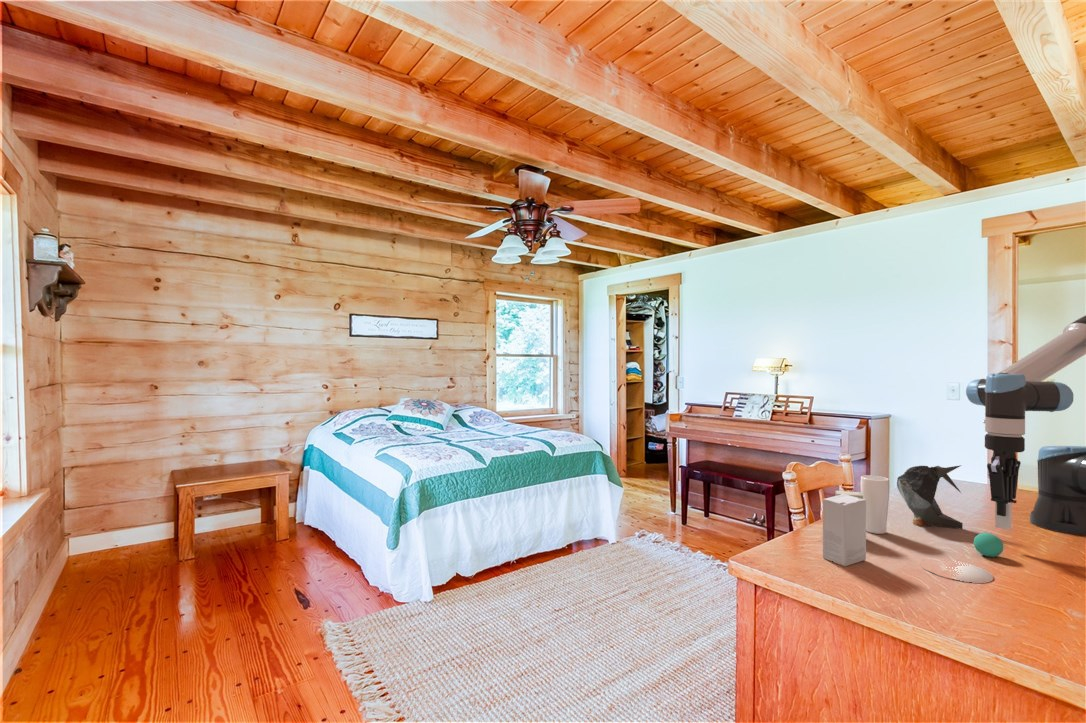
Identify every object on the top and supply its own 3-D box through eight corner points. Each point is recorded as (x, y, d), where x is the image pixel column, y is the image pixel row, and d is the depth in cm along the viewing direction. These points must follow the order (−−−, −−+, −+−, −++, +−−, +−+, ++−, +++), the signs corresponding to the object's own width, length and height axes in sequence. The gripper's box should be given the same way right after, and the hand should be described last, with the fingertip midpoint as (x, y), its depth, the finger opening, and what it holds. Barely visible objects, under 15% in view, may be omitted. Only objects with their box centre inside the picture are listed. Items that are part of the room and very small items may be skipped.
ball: (990, 551, 127) (989, 529, 127) (1009, 560, 122) (1009, 537, 122) (967, 551, 127) (967, 529, 127) (986, 560, 122) (986, 537, 122)
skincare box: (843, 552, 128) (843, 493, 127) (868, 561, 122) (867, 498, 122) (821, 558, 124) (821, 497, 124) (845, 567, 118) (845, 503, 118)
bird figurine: (892, 514, 158) (891, 456, 158) (953, 520, 152) (953, 459, 152) (901, 528, 146) (901, 464, 145) (969, 535, 139) (969, 469, 139)
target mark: (961, 559, 123) (961, 558, 123) (1010, 583, 110) (1010, 582, 110) (906, 559, 123) (906, 558, 123) (948, 583, 110) (948, 582, 110)
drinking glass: (894, 536, 139) (894, 481, 139) (866, 534, 140) (866, 480, 140) (883, 528, 145) (882, 475, 145) (856, 526, 147) (856, 474, 147)
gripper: (996, 431, 136) (995, 520, 136) (974, 434, 129) (973, 527, 129) (1034, 435, 129) (1033, 528, 129) (1012, 438, 123) (1011, 536, 123)
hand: (1003, 528), depth 129 cm, fingers closed
